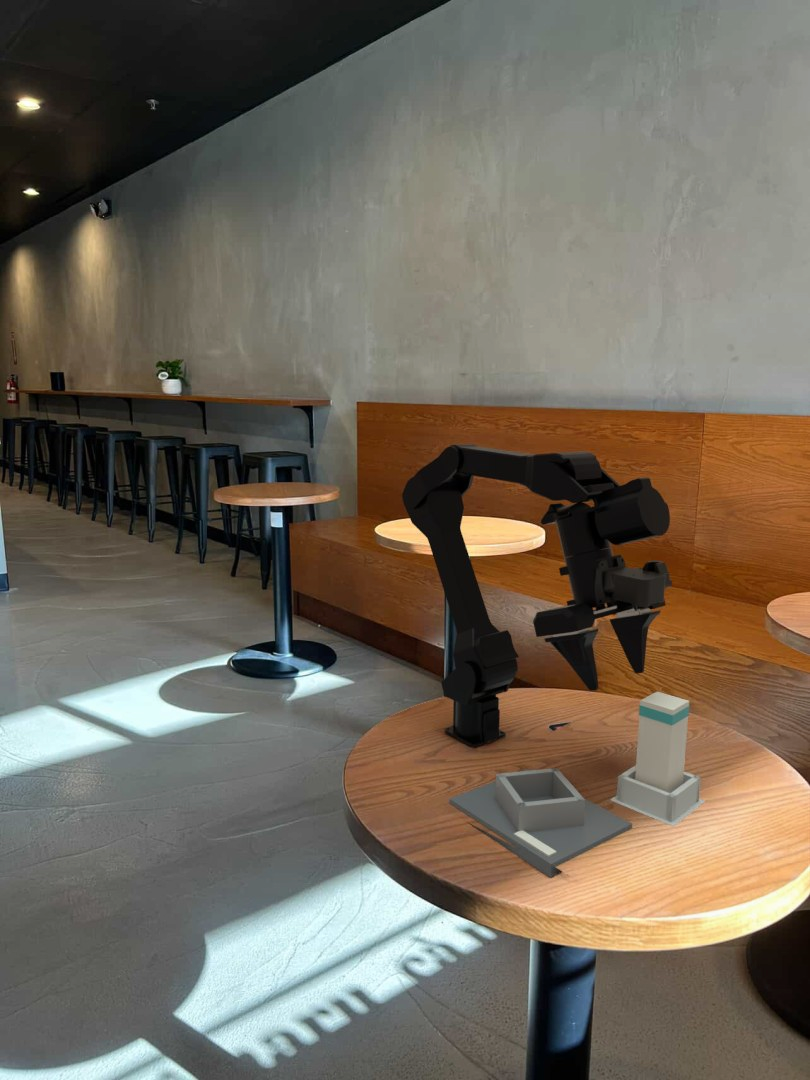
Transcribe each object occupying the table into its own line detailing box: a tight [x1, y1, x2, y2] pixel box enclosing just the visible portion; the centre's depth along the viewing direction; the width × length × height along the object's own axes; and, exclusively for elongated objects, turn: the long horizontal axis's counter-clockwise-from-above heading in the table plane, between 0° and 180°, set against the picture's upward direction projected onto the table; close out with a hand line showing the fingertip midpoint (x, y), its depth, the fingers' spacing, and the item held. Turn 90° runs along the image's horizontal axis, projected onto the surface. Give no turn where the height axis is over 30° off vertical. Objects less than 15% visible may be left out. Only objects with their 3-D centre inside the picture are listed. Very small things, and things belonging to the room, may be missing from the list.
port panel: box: [448, 767, 633, 878], centre depth 87 cm, size 16×13×4 cm
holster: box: [609, 764, 706, 827], centre depth 91 cm, size 8×8×4 cm
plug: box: [635, 691, 690, 793], centre depth 90 cm, size 4×4×12 cm
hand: (617, 681), depth 91 cm, fingers open, 9 cm apart
